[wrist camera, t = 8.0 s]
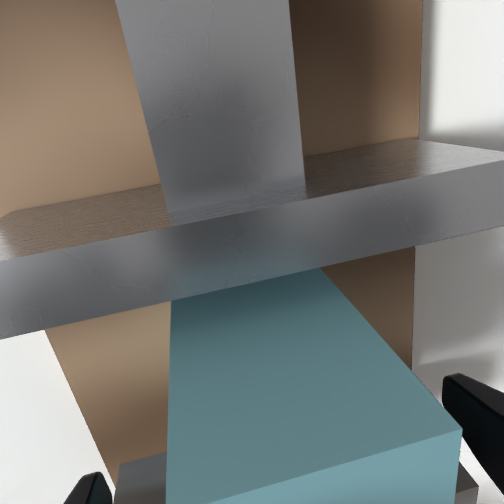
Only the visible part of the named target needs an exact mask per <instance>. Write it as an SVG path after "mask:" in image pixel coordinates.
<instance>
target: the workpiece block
mask: <svg viewBox="0 0 504 504" xmlns="http://www.w3.org/2000/svg"><path fill="white" fill-rule="evenodd" d="M461 438H462V428H461V426H460V425H459V424H458V423H457V422H456V421H455V420H454V419H453V417H452V416H451V415H450V414H449V413H448V412H447V411H446V409H445V408H444V407H443V406H442V405H441V404H440V403H439V402H438V400H437V399H436V398H435V397H434V396H433V395H432V394H431V393H430V391H429V390H428V389H427V388H426V387H425V386H424V385H423V384H422V382H421V381H420V380H419V379H418V378H417V377H416V376H415V375H414V373H413V372H412V371H411V370H410V369H409V368H408V367H407V365H406V364H405V363H404V362H403V361H402V360H401V359H400V358H399V356H398V355H397V354H396V353H395V352H394V351H393V350H392V349H391V347H390V346H389V345H388V344H387V343H386V342H385V341H384V340H383V338H382V337H381V336H380V335H379V334H378V333H377V332H376V330H375V329H374V328H373V327H372V326H371V325H370V324H369V323H368V321H367V320H366V319H365V318H364V317H363V316H362V315H361V314H360V312H359V311H358V310H357V309H356V308H355V307H354V306H353V305H352V303H351V302H350V301H349V300H348V299H347V298H346V297H345V296H344V294H343V293H342V292H341V291H340V290H339V289H338V288H337V286H336V285H335V284H334V283H333V282H332V281H331V280H330V279H329V277H328V276H327V275H326V274H325V273H324V272H323V271H322V270H321V268H320V267H319V268H315V269H310V270H306V271H301V272H297V273H293V274H288V275H284V276H279V277H275V278H270V279H266V280H262V281H257V282H253V283H248V284H244V285H239V286H235V287H231V288H226V289H222V290H217V291H213V292H208V293H204V294H200V295H195V296H191V297H186V298H182V299H177V300H173V301H171V319H170V357H169V395H168V434H167V472H166V504H454V500H455V491H456V482H457V474H458V465H459V456H460V447H461Z"/></svg>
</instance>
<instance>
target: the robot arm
mask: <svg viewBox="0 0 504 504" xmlns="http://www.w3.org/2000/svg"><path fill="white" fill-rule="evenodd" d="M442 403H443V406H444V408H445V409H446V411H447V412H448V413H449V414H450V415H451V416H452V417H453V419H454V420H455V421H456V422H457V423H458V424H459V425H460V426H461V428H462V437H463V438H464V440H465V441H466V443H467V445H468V446H469V448H470V449H471V451H472V453H473V454H474V456H475V457H476V459H477V460H478V462H479V463H480V465H481V466H482V467H483V469H484V470H485V471H486V473H487V474H488V475H489V477H490V478H491V479H492V481H493V482H494V483H495V484H496V486H497V487H498V488H499V490H500V491H501V492H502V494H503V495H504V393H503V392H500V391H498V390H496V389H494V388H492V387H489V386H487V385H485V384H483V383H481V382H478V381H476V380H474V379H472V378H470V377H467V376H465V375H463V374H460V373H456V374H452V375H448V376H445V377H444V379H443V387H442ZM63 504H113V501H112V494H111V491H110V489H109V487H108V485H107V483H106V481H105V478H104V476H103V474H102V473H101V472H95V473H91V474H87V475H84V476H83V477H82V478H81V479H80V480H79V481H78V483H77V484H76V486H75V487H74V489H73V490H72V492H71V493H70V495H69V496H68V498H67V499H66V501H65V502H64V503H63Z"/></svg>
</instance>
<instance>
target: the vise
mask: <svg viewBox="0 0 504 504" xmlns="http://www.w3.org/2000/svg"><path fill="white" fill-rule="evenodd" d="M288 1H289V12H290V23H291V34H292V44H293V55H294V66H295V77H296V88H297V99H298V110H299V121H300V131H301V142H302V153H303V157H307V156H312V155H317V154H323V153H328V152H333V151H339V150H344V149H349V148H355V147H360V146H365V145H371V144H376V143H381V142H387V141H392V140H397V139H403V138H411V139H418V140H419V110H420V78H421V45H422V13H423V0H288ZM157 184H161V182H160V178H159V174H158V170H157V166H156V162H155V158H154V154H153V150H152V146H151V142H150V138H149V134H148V130H147V126H146V122H145V118H144V114H143V110H142V106H141V102H140V98H139V94H138V90H137V86H136V82H135V78H134V74H133V70H132V66H131V62H130V58H129V54H128V50H127V46H126V42H125V38H124V34H123V30H122V26H121V22H120V18H119V14H118V10H117V6H116V2H115V0H0V218H1V217H3V216H4V215H6V214H7V213H9V212H13V211H18V210H23V209H29V208H34V207H40V206H45V205H50V204H56V203H61V202H66V201H72V200H77V199H82V198H88V197H93V196H98V195H104V194H109V193H114V192H120V191H125V190H130V189H136V188H141V187H146V186H152V185H157ZM320 268H321V270H322V271H323V272H324V273H325V274H326V275H327V276H328V277H329V279H330V280H331V281H332V282H333V283H334V284H335V285H336V286H337V288H338V289H339V290H340V291H341V292H342V293H343V294H344V296H345V297H346V298H347V299H348V300H349V301H350V302H351V303H352V305H353V306H354V307H355V308H356V309H357V310H358V311H359V312H360V314H361V315H362V316H363V317H364V318H365V319H366V320H367V321H368V323H369V324H370V325H371V326H372V327H373V328H374V329H375V330H376V332H377V333H378V334H379V335H380V336H381V337H382V338H383V340H384V341H385V342H386V343H387V344H388V345H389V346H390V347H391V349H392V350H393V351H394V352H395V353H396V354H397V355H398V356H399V358H400V359H401V360H402V361H403V362H404V363H405V364H406V365H407V367H408V368H409V369H410V370H411V369H412V337H413V304H414V272H415V246H412V247H408V248H403V249H399V250H395V251H390V252H386V253H381V254H377V255H372V256H368V257H364V258H359V259H355V260H350V261H346V262H341V263H337V264H333V265H328V266H324V267H320ZM170 319H171V301H169V302H164V303H160V304H155V305H151V306H146V307H142V308H138V309H133V310H129V311H124V312H120V313H115V314H111V315H106V316H102V317H98V318H93V319H89V320H84V321H80V322H75V323H71V324H67V325H62V326H58V327H53V328H49V329H44V330H45V332H46V335H47V337H48V339H49V341H50V343H51V346H52V348H53V350H54V352H55V355H56V357H57V359H58V361H59V363H60V366H61V368H62V370H63V372H64V375H65V377H66V379H67V381H68V383H69V386H70V388H71V390H72V392H73V394H74V397H75V399H76V401H77V403H78V406H79V408H80V410H81V412H82V414H83V417H84V419H85V421H86V423H87V425H88V428H89V430H90V432H91V434H92V437H93V439H94V441H95V443H96V445H97V448H98V450H99V452H100V454H101V457H102V459H103V461H104V463H105V465H106V468H107V470H108V472H109V474H110V476H111V479H112V481H113V483H114V485H115V488H116V490H115V496H114V503H113V504H166V472H167V434H168V395H169V357H170ZM478 488H479V486H478V484H477V483H476V482H475V481H474V479H473V478H472V477H471V476H470V474H469V473H468V472H467V471H466V469H465V468H464V467H463V466H462V464H461V463H460V462H459V465H458V474H457V482H456V491H455V500H454V504H476V502H477V495H478Z"/></svg>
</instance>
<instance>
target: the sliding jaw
mask: <svg viewBox="0 0 504 504" xmlns="http://www.w3.org/2000/svg"><path fill="white" fill-rule="evenodd" d="M115 2H116V6H117V10H118V14H119V18H120V22H121V26H122V30H123V34H124V38H125V42H126V46H127V50H128V54H129V58H130V62H131V66H132V70H133V74H134V78H135V82H136V86H137V90H138V94H139V98H140V102H141V106H142V110H143V114H144V118H145V122H146V126H147V130H148V134H149V138H150V142H151V146H152V150H153V154H154V158H155V162H156V166H157V170H158V174H159V178H160V182H161V184H157V185H152V186H146V187H141V188H136V189H130V190H125V191H120V192H114V193H109V194H104V195H98V196H93V197H88V198H82V199H77V200H72V201H66V202H61V203H56V204H50V205H45V206H40V207H34V208H29V209H23V210H18V211H13V212H9V213H7V214H6V215H4V216H3V217H1V218H0V339H5V338H9V337H13V336H18V335H22V334H27V333H31V332H36V331H40V330H44V329H49V328H53V327H58V326H62V325H67V324H71V323H75V322H80V321H84V320H89V319H93V318H98V317H102V316H106V315H111V314H115V313H120V312H124V311H129V310H133V309H138V308H142V307H146V306H151V305H155V304H160V303H164V302H169V301H173V300H177V299H182V298H186V297H191V296H195V295H200V294H204V293H208V292H213V291H217V290H222V289H226V288H231V287H235V286H239V285H244V284H248V283H253V282H257V281H262V280H266V279H270V278H275V277H279V276H284V275H288V274H293V273H297V272H301V271H306V270H310V269H315V268H319V267H324V266H328V265H333V264H337V263H341V262H346V261H350V260H355V259H359V258H364V257H368V256H372V255H377V254H381V253H386V252H390V251H395V250H399V249H403V248H408V247H412V246H417V245H421V244H426V243H430V242H434V241H439V240H443V239H448V238H452V237H457V236H461V235H465V234H470V233H474V232H479V231H483V230H488V229H492V228H497V227H501V226H504V152H503V151H496V150H489V149H482V148H475V147H468V146H460V145H453V144H446V143H439V142H432V141H425V140H418V139H411V138H403V139H397V140H392V141H387V142H381V143H376V144H371V145H365V146H360V147H355V148H349V149H344V150H339V151H333V152H328V153H323V154H317V155H312V156H307V157H303V153H302V142H301V131H300V121H299V110H298V99H297V88H296V77H295V66H294V55H293V44H292V34H291V23H290V12H289V1H288V0H115Z"/></svg>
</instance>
